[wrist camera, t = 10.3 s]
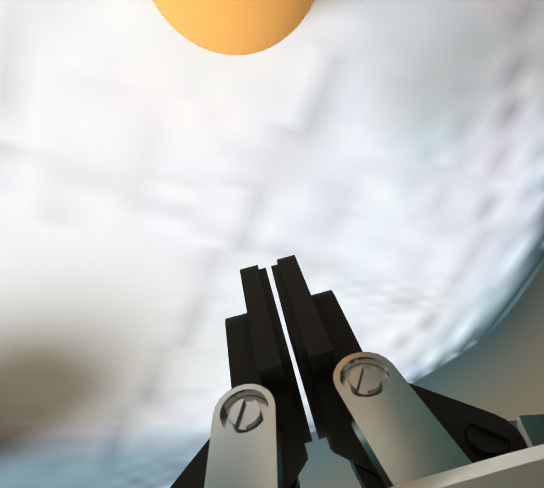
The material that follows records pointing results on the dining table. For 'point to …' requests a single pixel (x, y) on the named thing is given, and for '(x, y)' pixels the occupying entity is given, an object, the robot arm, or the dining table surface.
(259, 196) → the dining table surface
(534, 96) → the dining table surface
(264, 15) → the ball
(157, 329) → the dining table surface
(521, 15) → the dining table surface
